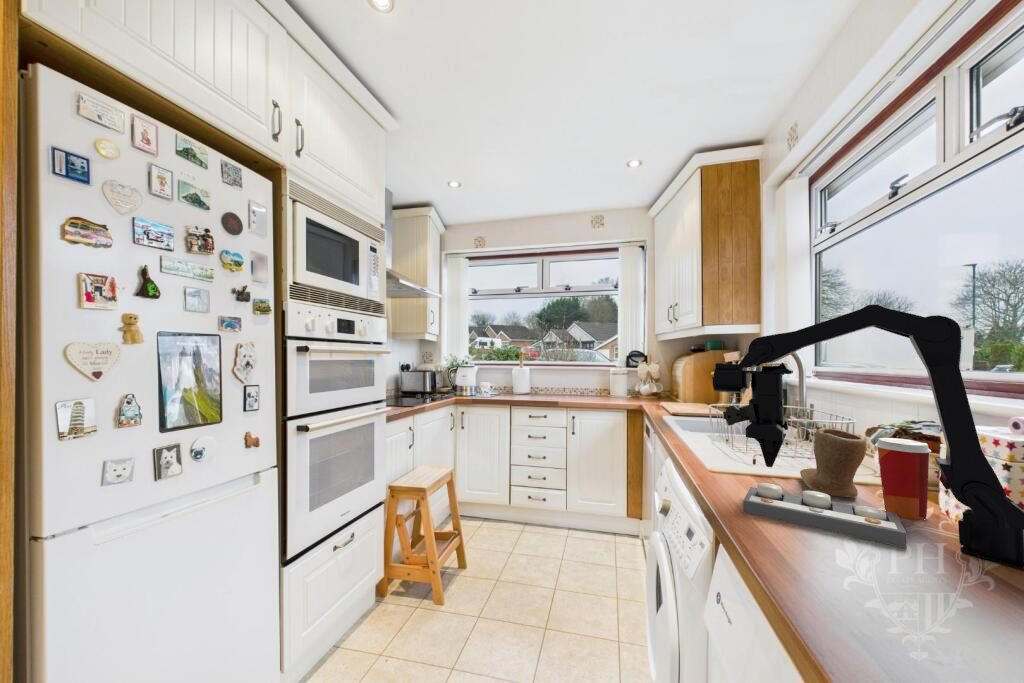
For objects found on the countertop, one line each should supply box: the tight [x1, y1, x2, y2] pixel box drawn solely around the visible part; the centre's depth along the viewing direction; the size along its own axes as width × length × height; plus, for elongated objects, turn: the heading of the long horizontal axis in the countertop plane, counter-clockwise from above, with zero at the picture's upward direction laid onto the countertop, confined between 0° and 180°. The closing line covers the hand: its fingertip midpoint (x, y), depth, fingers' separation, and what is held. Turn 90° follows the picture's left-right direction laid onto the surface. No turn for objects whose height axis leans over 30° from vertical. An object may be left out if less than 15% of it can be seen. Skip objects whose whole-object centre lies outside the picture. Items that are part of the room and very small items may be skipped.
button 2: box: [854, 505, 886, 521], centre depth 73 cm, size 4×4×2 cm
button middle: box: [802, 490, 831, 509], centre depth 78 cm, size 4×4×2 cm
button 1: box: [756, 482, 783, 499], centre depth 83 cm, size 4×4×2 cm
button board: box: [742, 486, 908, 549], centre depth 77 cm, size 24×11×3 cm, turn 51°
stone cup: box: [799, 427, 867, 499], centre depth 94 cm, size 15×12×15 cm
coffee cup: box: [875, 437, 932, 521], centre depth 80 cm, size 8×8×15 cm
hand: (769, 466), depth 84 cm, fingers closed
